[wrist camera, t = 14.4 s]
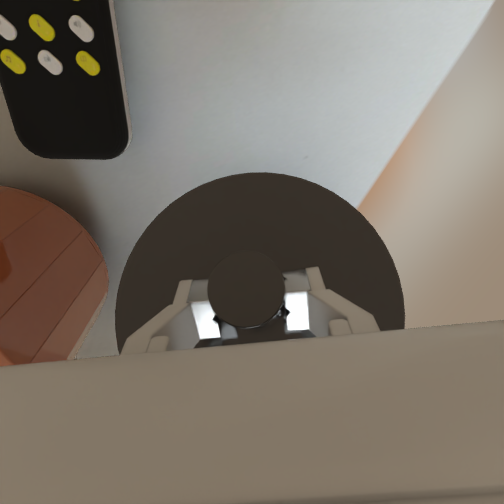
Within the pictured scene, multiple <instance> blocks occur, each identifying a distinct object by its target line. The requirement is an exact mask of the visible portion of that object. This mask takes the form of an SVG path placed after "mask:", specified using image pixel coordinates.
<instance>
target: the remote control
mask: <svg viewBox="0 0 504 504" xmlns="http://www.w3.org/2000/svg"><path fill="white" fill-rule="evenodd" d="M0 83H1V87H2V90H3V93H4V96H5V100H6V103H7V106H8V109H9V113H10V116H11V119H12V122H13V126H14V129H15V132H16V134H17V136H18V139H19V140H20V141H21V143H22V144H23V145H24V146H25V147H26V148H27V149H28V150H29V151H31V152H32V153H34V154H35V155H38V156H40V157H43V158H50V159H100V160H106V159H113V158H115V157H117V156H119V155H120V154H122V153H123V152H124V151H125V150H126V149H127V148H128V146H129V145H130V143H131V139H132V126H131V119H130V112H129V105H128V98H127V91H126V85H125V78H124V71H123V64H122V57H121V51H120V44H119V37H118V30H117V23H116V17H115V10H114V3H113V0H0Z"/></svg>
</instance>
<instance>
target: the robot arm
mask: <svg viewBox="0 0 504 504" xmlns="http://www.w3.org/2000/svg"><path fill="white" fill-rule="evenodd" d="M281 273H282V275H283V278H284V282H285V297H284V308H285V314H286V323H287V329H288V331H289V330H304V329H309V330H310V331H311V332H312V333H313V334H314V335H315V336H316V337H313V338H302V339H291V340H280V341H269V342H259V343H248V344H237V345H226V346H215V347H204V348H194V347H195V346H196V344H197V343H198V342H199V341H200V340H199V339H207V338H215V337H221V328H222V324H221V319H220V318H218V316H217V315H216V314H215V313H214V311H213V310H212V308H211V306H210V303H209V300H208V295H207V285H208V280H209V278H205V279H193V280H182V281H180V282H179V285H178V288H177V291H176V295H175V298H174V301H173V305H168V306H167V307H166V308H165V309H163V310H162V311H161V312H160V313H158V314H157V315H156V316H155V317H153V318H152V319H151V320H149V321H148V322H147V323H146V324H144V325H143V326H142V327H141V328H139V329H138V330H137V331H136V332H134V333H133V334H132V335H130V336H129V337H128V338H127V339H126V342H125V344H124V346H123V349H122V351H121V353H120V355H117V356H107V357H96V358H85V359H74V360H63V361H52V362H41V363H31V364H20V365H9V366H0V504H504V320H498V321H487V322H477V323H465V324H454V325H443V326H432V327H422V328H411V329H400V330H389V331H380V329H379V327H378V325H377V323H376V321H375V319H374V316H373V315H372V314H370V313H368V312H367V311H365V310H363V309H362V308H360V307H358V306H357V305H355V304H353V303H352V302H350V301H348V300H347V299H345V298H343V297H342V296H340V295H338V294H337V293H335V292H333V291H332V290H330V289H326V288H325V285H324V282H323V279H322V276H321V273H320V270H319V267H310V268H304V269H296V270H288V271H281Z"/></svg>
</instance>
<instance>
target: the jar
mask: <svg viewBox="0 0 504 504" xmlns="http://www.w3.org/2000/svg"><path fill="white" fill-rule="evenodd" d="M108 286H109V278H108V270H107V266H106V263H105V260H104V257H103V255H102V253H101V251H100V249H99V247H98V246H97V244H96V242H95V241H94V239H93V238H92V237H91V235H90V234H89V233H88V232H87V231H86V230H85V228H84V227H83V226H82V225H81V224H80V223H79V222H78V221H77V220H75V219H74V218H73V217H72V216H71V215H70V214H68V213H67V212H65V211H64V210H63V209H61V208H60V207H58V206H57V205H55V204H53V203H51V202H50V201H48V200H46V199H44V198H42V197H39V196H37V195H35V194H32V193H29V192H26V191H23V190H20V189H16V188H11V187H7V186H0V366H9V365H20V364H31V363H41V362H52V361H63V360H73V359H74V358H75V356H76V354H77V352H78V351H79V349H80V347H81V345H82V344H83V342H84V340H85V338H86V337H87V335H88V333H89V331H90V330H91V328H92V326H93V324H94V323H95V321H96V319H97V317H98V316H99V314H100V312H101V309H102V306H103V304H104V302H105V300H106V297H107V293H108Z"/></svg>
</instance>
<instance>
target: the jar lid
mask: <svg viewBox="0 0 504 504" xmlns="http://www.w3.org/2000/svg"><path fill="white" fill-rule="evenodd" d="M310 267H319V270H320V273H321V276H322V279H323V282H324V285H325V288H326V289H330V290H332V291H333V292H335V293H337V294H338V295H340V296H342V297H343V298H345V299H347V300H348V301H350V302H352V303H353V304H355V305H357V306H358V307H360V308H362V309H363V310H365V311H367V312H368V313H370V314H372V315H373V316H374V319H375V321H376V323H377V325H378V327H379V329H380V331H389V330H400V329H404V327H405V309H404V298H403V292H402V288H401V284H400V279H399V276H398V273H397V270H396V267H395V265H394V262H393V259H392V257H391V255H390V254H389V252H388V250H387V248H386V246H385V244H384V242H383V241H382V239H381V238H380V236H379V235H378V233H377V232H376V230H375V229H374V228H373V226H372V225H371V224H370V223H369V222H368V221H367V220H366V219H365V217H364V216H363V215H362V214H361V213H360V212H358V211H357V210H356V209H355V208H354V207H353V206H352V205H351V204H349V203H348V202H347V201H345V200H344V199H342V198H341V197H339V196H338V195H337V194H335V193H334V192H332V191H330V190H328V189H326V188H324V187H322V186H320V185H318V184H316V183H313V182H310V181H307V180H304V179H302V178H298V177H294V176H289V175H285V174H276V173H267V172H265V173H244V174H237V175H231V176H227V177H223V178H219V179H216V180H213V181H211V182H208V183H205V184H203V185H200V186H198V187H197V188H195V189H193V190H191V191H189V192H187V193H185V194H184V195H182V196H181V197H180V198H178V199H177V200H175V201H174V202H172V203H171V204H170V205H169V206H168V207H167V208H165V209H164V210H163V211H162V212H161V213H160V214H159V215H158V216H157V217H156V218H155V219H154V220H153V221H152V222H151V224H150V225H149V226H148V227H147V228H146V230H145V231H144V233H143V234H142V235H141V237H140V238H139V240H138V241H137V243H136V245H135V246H134V248H133V250H132V252H131V254H130V256H129V258H128V260H127V263H126V266H125V268H124V271H123V273H122V277H121V281H120V285H119V289H118V293H117V302H116V310H115V330H116V337H117V345H118V350H119V354H120V353H121V351H122V349H123V346H124V344H125V342H126V339H127V338H128V337H129V336H130V335H132V334H133V333H134V332H136V331H137V330H138V329H139V328H141V327H142V326H143V325H144V324H146V323H147V322H148V321H149V320H151V319H152V318H153V317H155V316H156V315H157V314H158V313H160V312H161V311H162V310H163V309H165V308H166V307H167V306H168V305H173V301H174V298H175V295H176V291H177V288H178V285H179V282H180V281H182V280H193V279H205V278H209V280H208V285H207V295H208V300H209V303H210V306H211V308H212V310H213V311H214V313H215V314H216V315H217V316H218V318H220V319H221V324H222V328H221V337H215V338H207V339H199V340H200V341H199V342H198V343H197V344H196V346H195V347H194V348H204V347H215V346H226V345H237V344H248V343H259V342H269V341H280V340H291V339H302V338H313V337H316V336H315V335H314V334H313V333H312V332H311V331H310V330H309V329H304V330H289V331H288V329H287V323H286V314H285V308H284V297H285V282H284V278H283V275H282V273H281V271H288V270H296V269H304V268H310Z"/></svg>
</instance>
